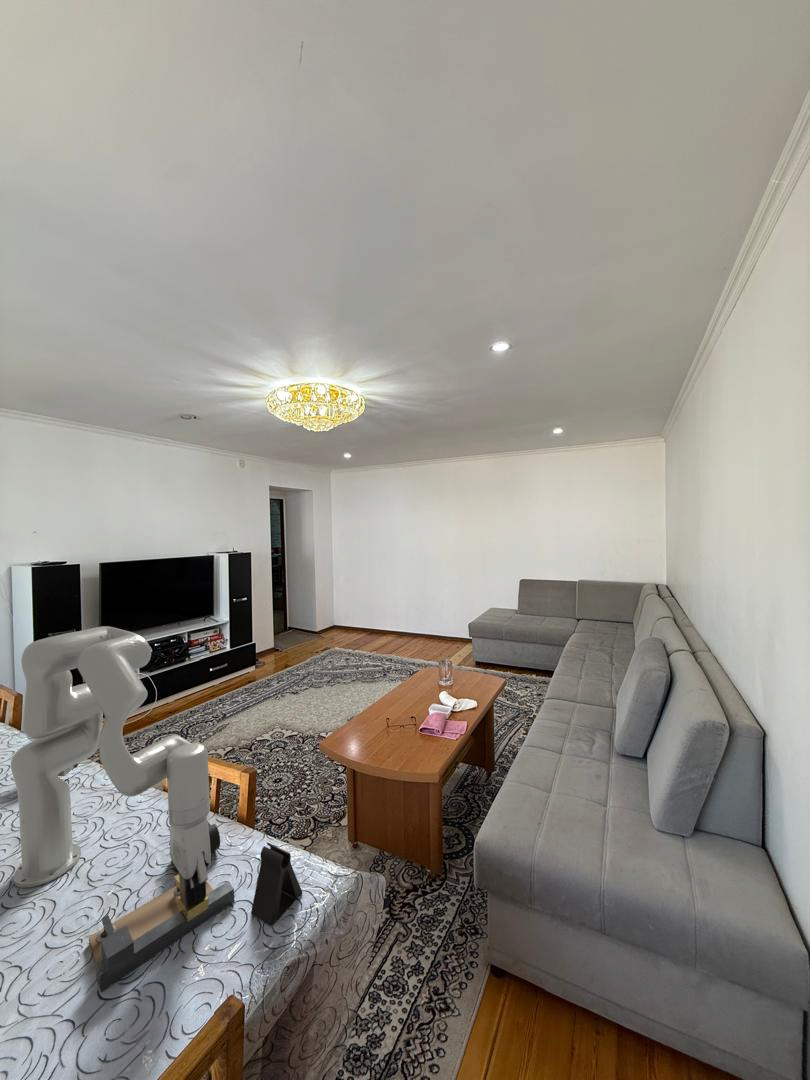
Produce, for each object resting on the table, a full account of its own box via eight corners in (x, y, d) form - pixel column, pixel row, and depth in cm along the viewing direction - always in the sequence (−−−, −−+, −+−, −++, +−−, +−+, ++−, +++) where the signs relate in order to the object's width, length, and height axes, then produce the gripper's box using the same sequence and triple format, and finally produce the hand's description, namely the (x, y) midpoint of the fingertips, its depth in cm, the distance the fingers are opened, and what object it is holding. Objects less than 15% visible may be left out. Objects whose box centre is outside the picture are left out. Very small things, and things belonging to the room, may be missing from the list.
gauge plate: (89, 944, 83) (88, 935, 83) (199, 878, 98) (199, 870, 98) (98, 972, 77) (97, 963, 77) (214, 897, 93) (213, 890, 93)
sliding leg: (167, 892, 92) (165, 851, 92) (187, 881, 95) (185, 841, 95) (188, 926, 84) (186, 881, 83) (208, 913, 87) (207, 869, 86)
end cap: (177, 879, 98) (176, 851, 98) (168, 863, 103) (167, 836, 103) (221, 855, 105) (220, 828, 105) (210, 841, 110) (209, 815, 110)
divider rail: (87, 951, 82) (86, 920, 81) (213, 875, 99) (212, 849, 99) (102, 996, 73) (100, 963, 73) (236, 904, 91) (235, 877, 91)
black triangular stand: (283, 883, 96) (281, 831, 96) (302, 894, 93) (300, 840, 93) (250, 914, 88) (248, 858, 88) (270, 927, 85) (268, 869, 85)
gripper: (156, 800, 89) (160, 885, 90) (184, 837, 78) (188, 934, 78) (193, 784, 95) (197, 864, 95) (225, 816, 83) (228, 907, 84)
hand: (193, 895), depth 87 cm, fingers closed on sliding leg, 3 cm apart
